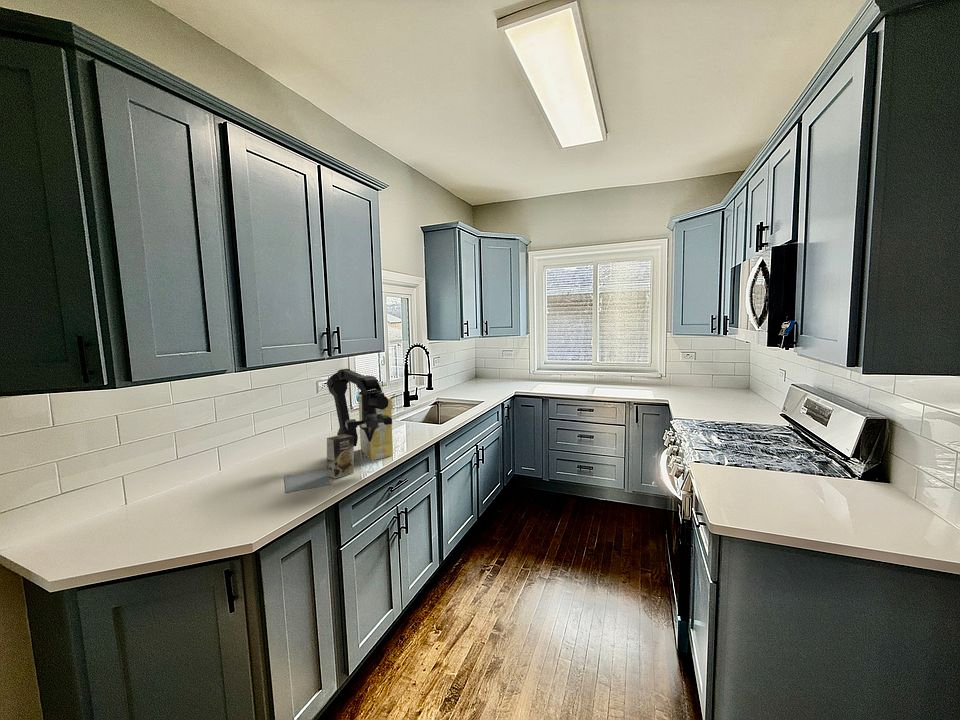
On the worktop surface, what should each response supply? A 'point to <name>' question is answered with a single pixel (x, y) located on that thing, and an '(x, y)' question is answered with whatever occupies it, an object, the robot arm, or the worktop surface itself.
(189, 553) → the worktop surface
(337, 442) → the coffee box
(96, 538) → the worktop surface
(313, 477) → the mat
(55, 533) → the worktop surface
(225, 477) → the worktop surface
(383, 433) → the pasta box
